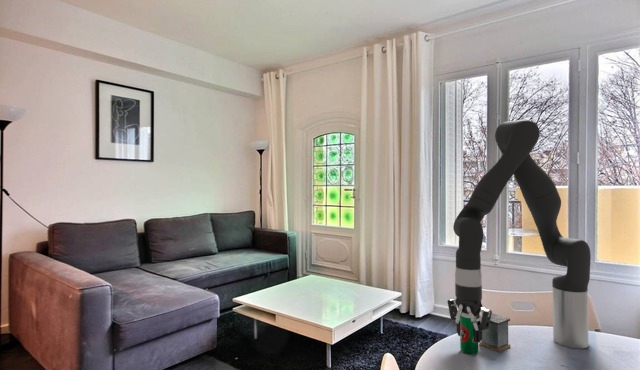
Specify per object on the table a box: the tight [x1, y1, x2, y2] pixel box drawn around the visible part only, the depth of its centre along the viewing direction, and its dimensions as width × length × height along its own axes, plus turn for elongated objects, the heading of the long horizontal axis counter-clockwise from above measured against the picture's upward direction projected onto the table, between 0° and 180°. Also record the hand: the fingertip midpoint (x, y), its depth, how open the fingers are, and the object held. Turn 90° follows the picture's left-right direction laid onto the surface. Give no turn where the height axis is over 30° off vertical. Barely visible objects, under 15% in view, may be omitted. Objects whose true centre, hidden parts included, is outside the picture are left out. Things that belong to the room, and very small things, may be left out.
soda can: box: [459, 312, 479, 356], centre depth 109 cm, size 5×5×12 cm
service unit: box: [478, 312, 511, 353], centre depth 113 cm, size 6×6×9 cm
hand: (469, 338), depth 109 cm, fingers closed on soda can, 5 cm apart
